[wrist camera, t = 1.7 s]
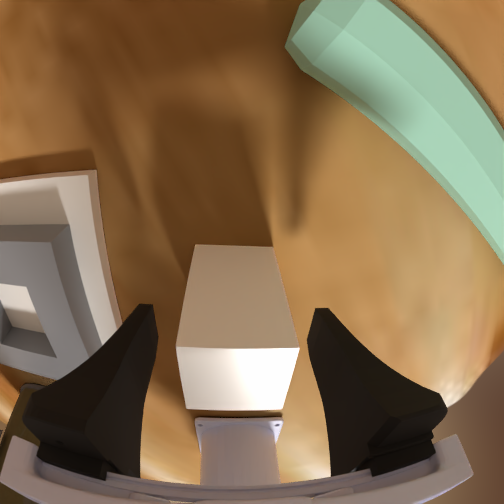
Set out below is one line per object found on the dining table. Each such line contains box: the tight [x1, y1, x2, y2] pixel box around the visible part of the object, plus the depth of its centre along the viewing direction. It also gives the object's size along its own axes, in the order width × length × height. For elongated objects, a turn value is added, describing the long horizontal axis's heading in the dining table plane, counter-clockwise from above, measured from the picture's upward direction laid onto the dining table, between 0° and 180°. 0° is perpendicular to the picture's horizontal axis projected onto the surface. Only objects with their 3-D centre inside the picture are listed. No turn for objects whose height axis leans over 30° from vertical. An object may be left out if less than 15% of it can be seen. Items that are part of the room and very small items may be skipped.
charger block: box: [176, 244, 299, 410], centre depth 13 cm, size 4×4×7 cm
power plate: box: [0, 170, 123, 380], centre depth 14 cm, size 16×14×3 cm
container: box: [285, 0, 504, 264], centre depth 12 cm, size 6×6×25 cm
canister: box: [0, 384, 45, 504], centre depth 15 cm, size 11×10×20 cm
